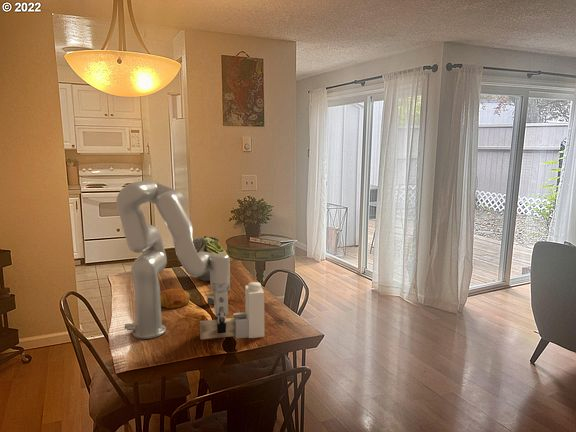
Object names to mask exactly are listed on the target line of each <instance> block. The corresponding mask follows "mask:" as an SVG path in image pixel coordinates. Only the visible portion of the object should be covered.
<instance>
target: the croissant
mask: <svg viewBox="0 0 576 432" xmlns="http://www.w3.org/2000/svg"><path fill="white" fill-rule="evenodd" d="M160 299H161V308H165V309H177V308H182V307H184V306H188V305H189V301H190V299H191V296H190V293H189V292H188V291H186V290H184V289H183V288H180V287H173V288H168V289H164V290H162V291H160Z"/></svg>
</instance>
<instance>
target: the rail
mask: <svg viewBox="0 0 576 432" xmlns="http://www.w3.org/2000/svg"><path fill="white" fill-rule="evenodd" d="M239 319H246V317H241V318H234V317H232V318H231V317H229V318H225V322H226V333H219V334H218V333H217V323H218V319H217V320H216V319H207V320H200V321H199V338H200V339H199V340H209V339H219V338H229V337H230V338H231V337H236V330H235V320H239Z"/></svg>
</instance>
